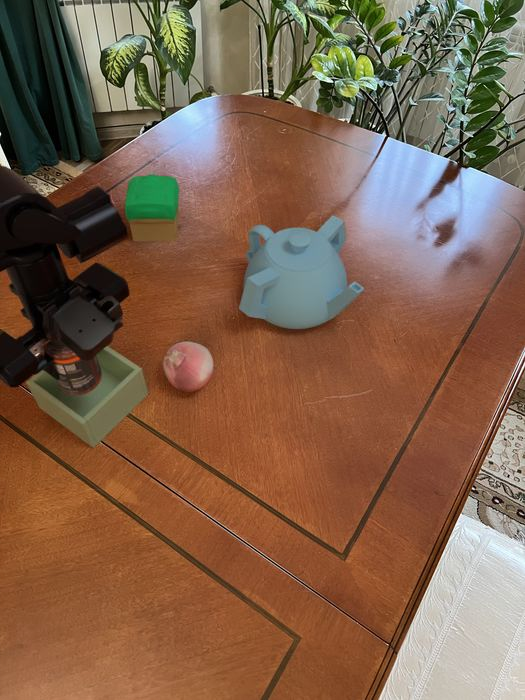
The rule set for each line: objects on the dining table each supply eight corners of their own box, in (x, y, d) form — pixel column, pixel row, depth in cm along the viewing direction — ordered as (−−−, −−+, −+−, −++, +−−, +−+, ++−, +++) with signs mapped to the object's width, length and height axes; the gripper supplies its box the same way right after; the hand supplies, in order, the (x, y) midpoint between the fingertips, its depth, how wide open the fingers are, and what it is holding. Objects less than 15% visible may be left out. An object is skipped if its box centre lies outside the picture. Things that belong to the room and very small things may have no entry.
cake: (183, 208, 116) (178, 165, 108) (180, 243, 109) (175, 200, 101) (134, 208, 115) (126, 165, 107) (128, 244, 109) (119, 200, 101)
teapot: (239, 336, 95) (238, 276, 84) (242, 257, 107) (242, 196, 96) (354, 338, 95) (368, 279, 85) (344, 259, 107) (355, 199, 96)
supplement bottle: (86, 355, 81) (68, 299, 72) (111, 380, 78) (95, 326, 70) (49, 378, 78) (26, 323, 69) (73, 405, 76) (52, 352, 67)
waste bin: (93, 448, 82) (82, 424, 77) (39, 408, 86) (25, 382, 81) (148, 394, 88) (142, 368, 82) (95, 359, 92) (86, 332, 86)
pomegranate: (160, 366, 91) (154, 338, 85) (205, 352, 93) (202, 323, 87) (175, 406, 87) (170, 379, 81) (223, 389, 89) (221, 362, 83)
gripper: (19, 368, 55) (61, 446, 68) (152, 261, 65) (168, 347, 77) (-51, 316, 59) (1, 398, 72) (84, 222, 69) (109, 309, 81)
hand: (74, 362), depth 75 cm, fingers closed on supplement bottle, 6 cm apart
